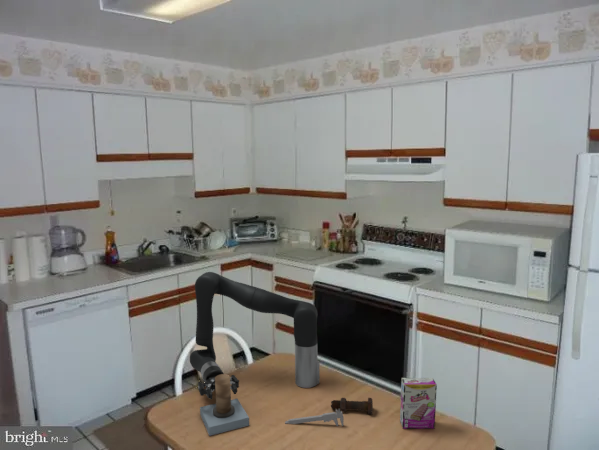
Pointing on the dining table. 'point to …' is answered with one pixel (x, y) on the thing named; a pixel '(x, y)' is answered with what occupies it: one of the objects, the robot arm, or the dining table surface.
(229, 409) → the peg
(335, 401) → the bolt
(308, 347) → the robot arm
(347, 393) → the dining table surface
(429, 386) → the candy bar box
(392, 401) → the dining table surface
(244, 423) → the board
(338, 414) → the caliper
